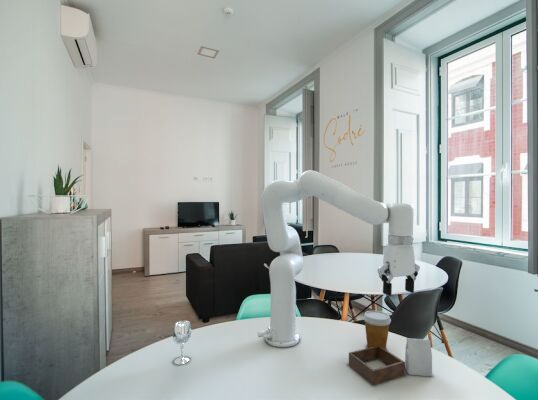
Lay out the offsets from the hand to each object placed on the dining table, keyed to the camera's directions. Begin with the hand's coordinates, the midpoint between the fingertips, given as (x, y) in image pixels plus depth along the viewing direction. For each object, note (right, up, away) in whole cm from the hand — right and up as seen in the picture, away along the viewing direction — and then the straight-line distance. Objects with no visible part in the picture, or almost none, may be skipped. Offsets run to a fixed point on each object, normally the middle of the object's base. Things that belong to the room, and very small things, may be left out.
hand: (398, 293), depth 97 cm
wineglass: (-70, -21, -2) cm, 74 cm away
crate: (-9, -23, -5) cm, 25 cm away
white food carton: (+4, -23, -5) cm, 24 cm away
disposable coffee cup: (-5, -23, +9) cm, 25 cm away
